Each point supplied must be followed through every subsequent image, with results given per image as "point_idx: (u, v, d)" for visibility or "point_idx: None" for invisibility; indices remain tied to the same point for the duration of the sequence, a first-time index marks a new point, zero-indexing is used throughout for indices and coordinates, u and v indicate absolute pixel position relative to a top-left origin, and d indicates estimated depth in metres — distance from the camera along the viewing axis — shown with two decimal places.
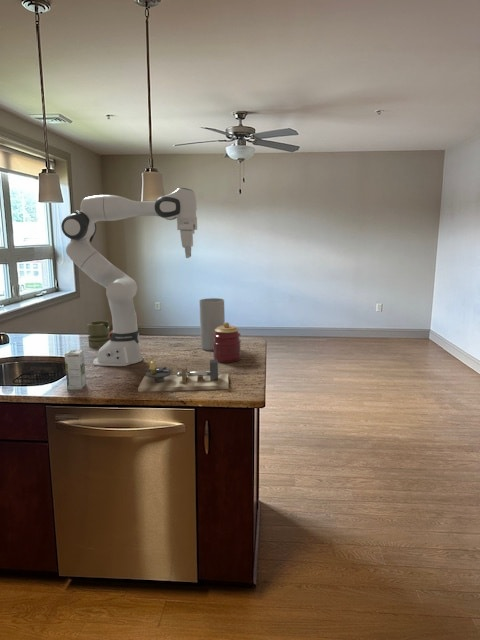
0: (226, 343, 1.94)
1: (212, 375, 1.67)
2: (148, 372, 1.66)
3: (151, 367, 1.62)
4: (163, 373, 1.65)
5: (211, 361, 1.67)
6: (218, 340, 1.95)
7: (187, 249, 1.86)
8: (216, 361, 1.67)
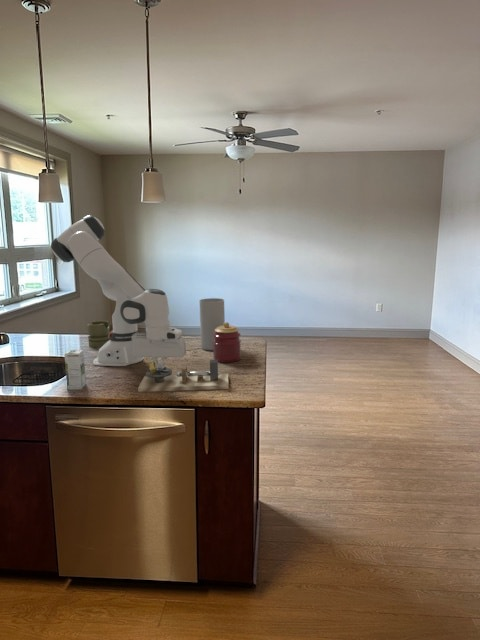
0: (226, 343, 1.94)
1: (212, 375, 1.67)
2: (148, 372, 1.66)
3: (151, 367, 1.62)
4: (163, 373, 1.65)
5: (211, 361, 1.67)
6: (218, 340, 1.95)
7: (166, 358, 1.62)
8: (216, 361, 1.67)
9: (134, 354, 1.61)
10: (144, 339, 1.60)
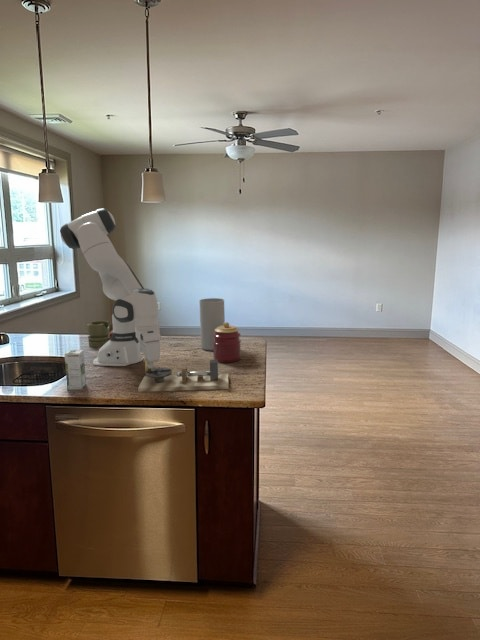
0: (226, 343, 1.94)
1: (212, 375, 1.67)
2: (152, 369, 1.70)
3: (145, 364, 1.66)
4: (154, 374, 1.64)
5: (211, 361, 1.67)
6: (218, 340, 1.95)
7: None
8: (216, 361, 1.67)
9: None
10: None
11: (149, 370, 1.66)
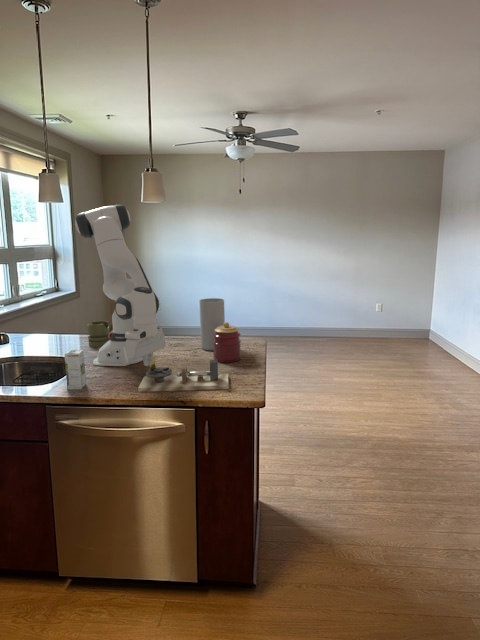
0: (226, 343, 1.94)
1: (212, 375, 1.67)
2: (161, 368, 1.71)
3: None
4: (149, 372, 1.66)
5: (211, 361, 1.67)
6: (218, 340, 1.95)
7: (143, 356, 1.64)
8: (216, 361, 1.67)
9: None
10: None
11: (151, 367, 1.69)
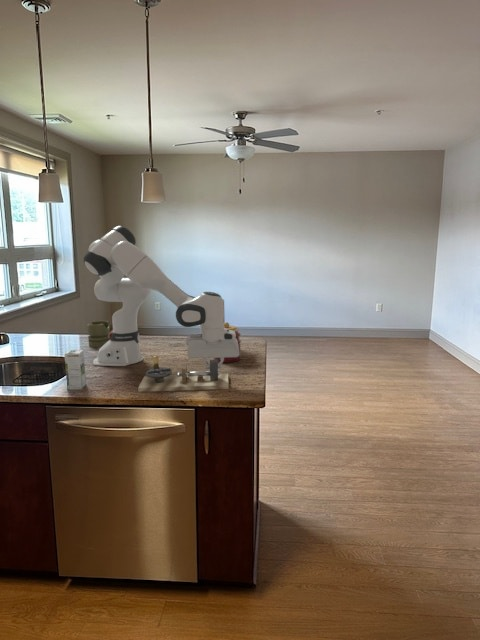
0: None
1: (212, 375, 1.67)
2: (164, 368, 1.71)
3: None
4: (149, 371, 1.68)
5: (211, 361, 1.67)
6: None
7: (223, 358, 1.68)
8: (216, 361, 1.67)
9: (189, 355, 1.65)
10: (200, 340, 1.64)
11: (154, 366, 1.70)
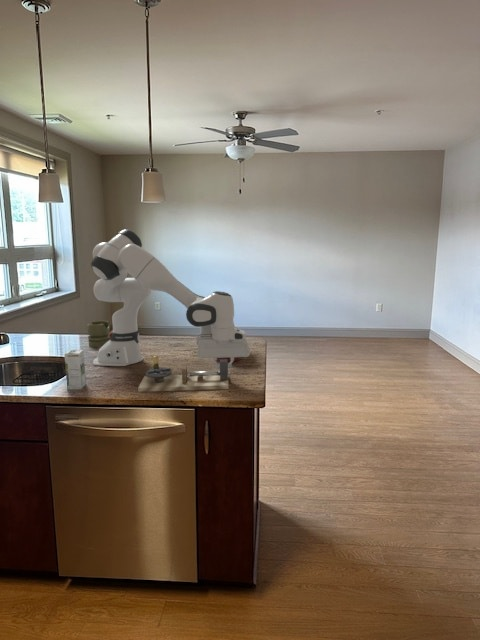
0: None
1: (222, 375, 1.67)
2: (164, 368, 1.71)
3: None
4: (149, 371, 1.68)
5: (221, 361, 1.67)
6: None
7: (233, 358, 1.67)
8: (226, 361, 1.67)
9: (199, 355, 1.65)
10: (210, 340, 1.64)
11: (154, 366, 1.70)
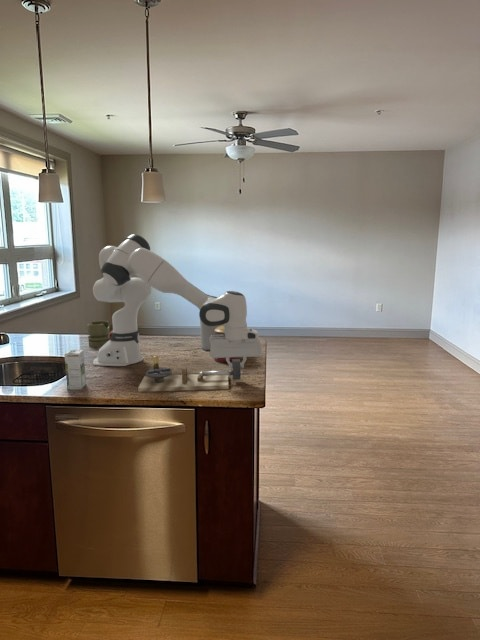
0: None
1: (235, 374, 1.67)
2: (164, 368, 1.71)
3: None
4: (149, 371, 1.68)
5: (234, 360, 1.67)
6: None
7: None
8: (239, 360, 1.67)
9: (212, 355, 1.65)
10: (223, 340, 1.64)
11: (154, 366, 1.70)
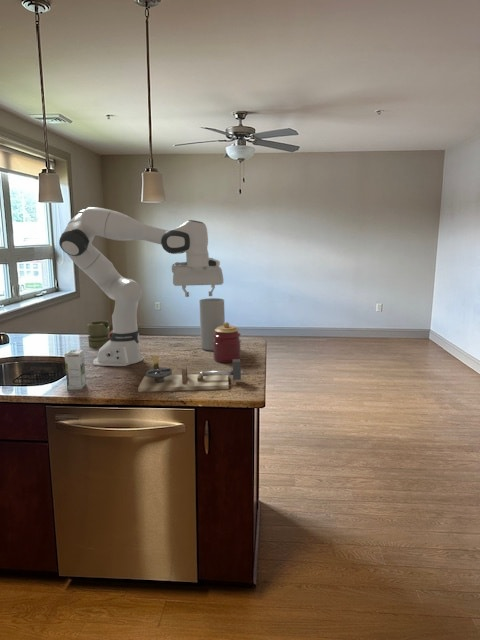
0: (226, 343, 1.94)
1: (235, 374, 1.67)
2: (164, 368, 1.71)
3: None
4: (149, 371, 1.68)
5: (234, 360, 1.67)
6: (218, 340, 1.95)
7: (214, 286, 1.73)
8: (239, 360, 1.67)
9: (175, 283, 1.70)
10: (185, 268, 1.69)
11: (154, 366, 1.70)
